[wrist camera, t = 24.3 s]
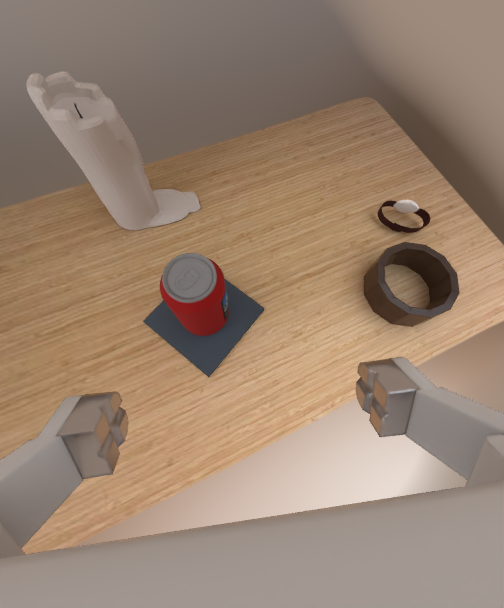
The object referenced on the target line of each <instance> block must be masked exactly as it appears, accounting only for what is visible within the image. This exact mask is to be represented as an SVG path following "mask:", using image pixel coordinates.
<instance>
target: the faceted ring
mask: <svg viewBox="0 0 504 608" xmlns="http://www.w3.org/2000/svg"><path fill="white" fill-rule="evenodd" d="M389 264H397V265H404V266H407V267H409V268H411V269H412V270H414V271H415V272H417V273H419V274H420V275H421V276H422V278H423V279H424V281H425V282H426V284H427V285H428V287H429V291H430V304H429V306H428V307H427V309H420V308H413V307H410V306H408V305H407V304H405V303H404V302H402V301H401V300H399V299H397V298H396V297H394V295H393V293H392V292H391V290H390V289H389V287H388V285H387V284H386V282H385V272H384V266H386V265H389ZM364 295H365V297H366V299H367V301H368V302H369V304H370V306H371V307H372V309H373V311H374V312H375V313H377V314H378V315H380V316H381V317H383V318H384V319H385V320H387V321H388V322H390V323H392V324H397V325H404V326H411V327H412V326H415V325H417V324H420V323H422V322H424V321H427V320H429V319H431V318H433V317H436V316H438V315H440V314H442V313H444V312H446V311H448V310H450V309H451V307H452V306H453V304H454V302H455V300H456V298H457V297H458V295H459V286H458V278H457V273H456V272H455V270H454V269H453V268H452V266H451V265H450V263H449V262H448V261H447V259H446V258H445V257H444V256H443V255H441V254H440V253H438V252H436V251H435V250H433V249H431V248H430V247H428V246H426V245H422V244H414V243H407V242H404V243H401V244H398V245H395V246H393V247H390V248H387V249H386V250H385V251H384V253H383V254H382V255H381V256H380V257H379V258H378V259H377V260H376V261H375V263H374V264H373V265H372V266H371V268H370V269H369V271H368V272H367V273H366V275H365V276H364Z"/></svg>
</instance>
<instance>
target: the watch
mask: <svg viewBox="0 0 504 608" xmlns="http://www.w3.org/2000/svg"><path fill="white" fill-rule="evenodd" d="M385 206H391V207H394V208H395V209H396V210H397V211H399V212H402V213H415V214H417V215H419V216H420V217H421V218H422V219H423V222H424V223H423V226H422V227H421V228H408V227H404V226H401V225H398V224H396V223H392V222H391V221H389V220H388V219H386V218H385V216H384V215H383V213H382V207H385ZM378 217H379V220H380V221H381V222H382V223H383V224H384V225H386V226H387V227H389V228H391V229H392V230H395V231H398V232H401V231H402V232H407V233H412V232H417V231H419V230H420V229H422V228H423V227H425V226H427V225H428V224H429V222H430V215H429V214H428V213H427V212H426V211H425V210H423V209H420V208H418V205H417V203H415V202H414V201H411V200H400V201H397V202H396V201H387V202H385V203H383V204H382V206H381V207H380V209H379V211H378Z"/></svg>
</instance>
